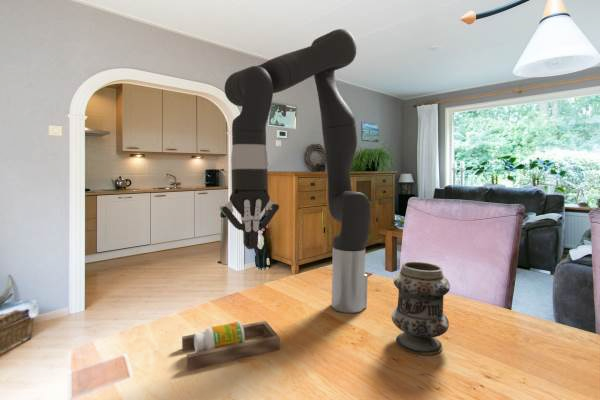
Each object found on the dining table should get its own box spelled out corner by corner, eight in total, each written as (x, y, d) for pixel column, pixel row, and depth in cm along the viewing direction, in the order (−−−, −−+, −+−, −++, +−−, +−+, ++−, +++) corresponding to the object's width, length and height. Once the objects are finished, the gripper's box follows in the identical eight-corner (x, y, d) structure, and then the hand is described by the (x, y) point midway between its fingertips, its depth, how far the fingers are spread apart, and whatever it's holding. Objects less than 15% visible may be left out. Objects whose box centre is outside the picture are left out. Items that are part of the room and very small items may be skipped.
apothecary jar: (445, 336, 78) (448, 261, 77) (450, 363, 67) (454, 276, 65) (392, 327, 82) (394, 256, 81) (388, 351, 71) (391, 269, 69)
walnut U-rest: (265, 331, 79) (265, 320, 79) (279, 349, 71) (279, 337, 71) (182, 348, 71) (182, 336, 71) (187, 370, 63) (187, 357, 63)
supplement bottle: (246, 338, 69) (198, 348, 64) (242, 352, 71) (196, 363, 67) (240, 316, 72) (194, 324, 68) (236, 330, 75) (192, 339, 71)
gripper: (272, 167, 75) (273, 242, 77) (214, 167, 70) (216, 247, 71) (285, 167, 69) (285, 249, 70) (221, 166, 63) (223, 255, 64)
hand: (250, 248), depth 71 cm, fingers closed
